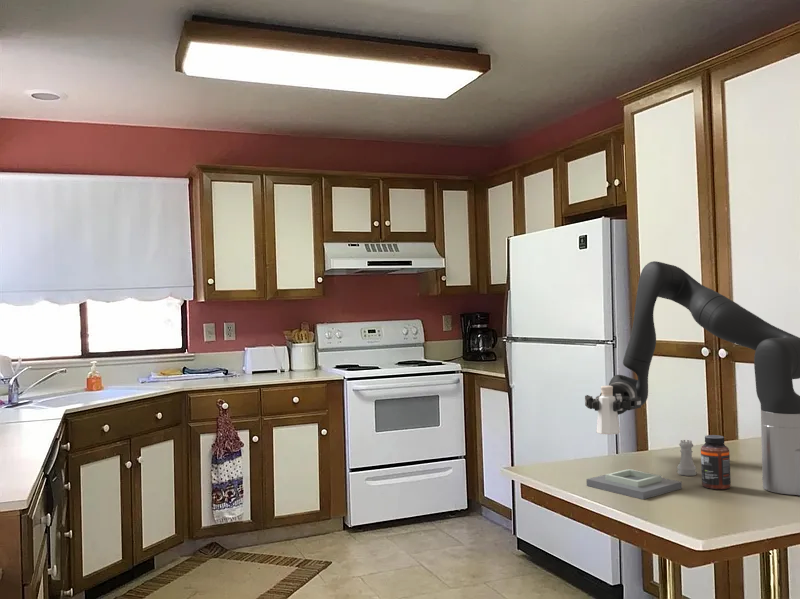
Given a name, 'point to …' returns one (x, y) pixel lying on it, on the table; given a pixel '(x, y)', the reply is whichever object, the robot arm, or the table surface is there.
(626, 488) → the baseplate
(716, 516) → the table surface
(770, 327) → the robot arm
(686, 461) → the rook chess piece
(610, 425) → the pepper shaker
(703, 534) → the table surface
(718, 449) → the supplement bottle
